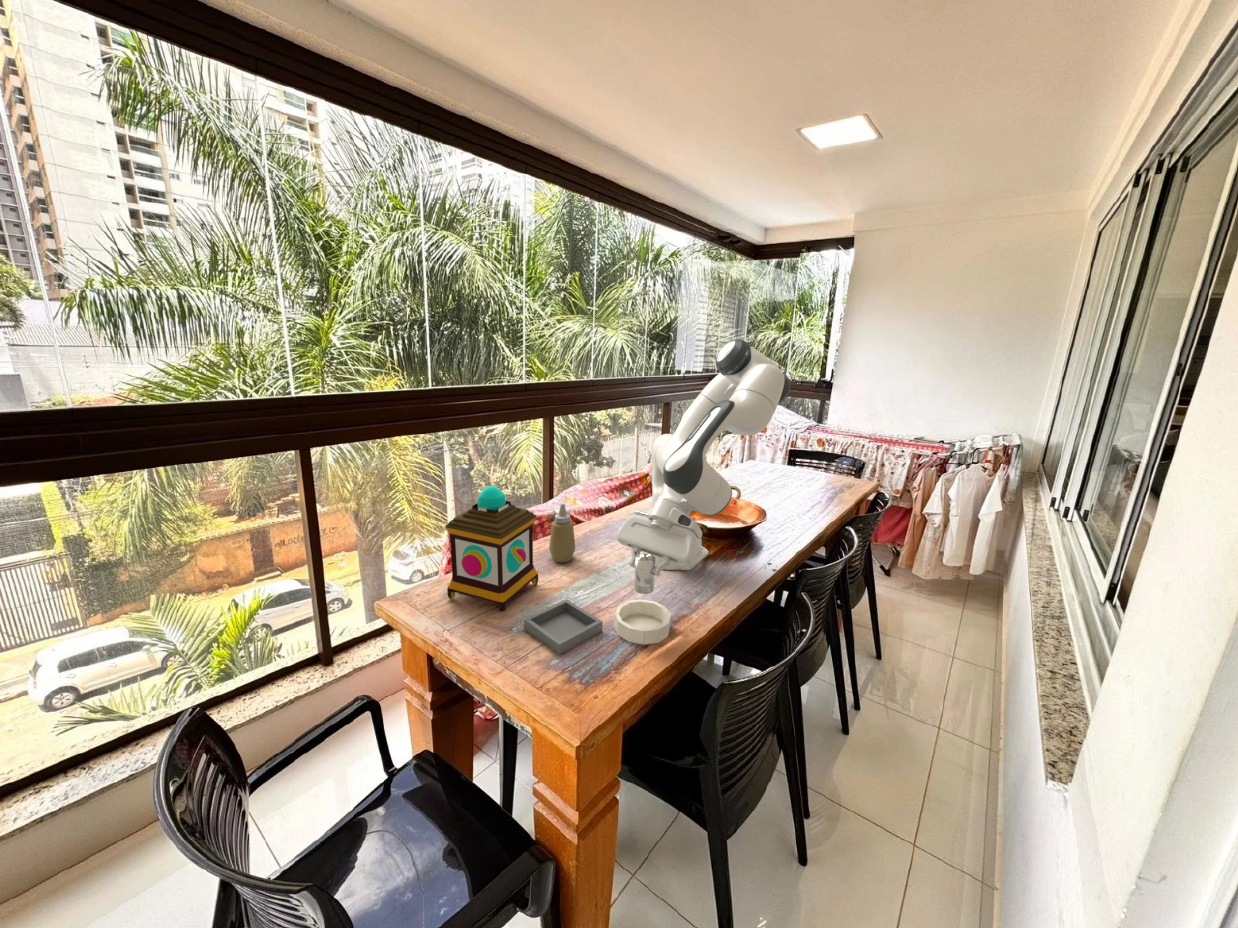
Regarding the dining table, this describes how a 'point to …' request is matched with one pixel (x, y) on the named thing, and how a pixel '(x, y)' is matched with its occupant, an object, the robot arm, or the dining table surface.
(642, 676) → the dining table surface
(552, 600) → the dining table surface
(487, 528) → the decorative lantern
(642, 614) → the bowl
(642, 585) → the pebble cup
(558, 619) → the tray
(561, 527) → the squeeze bottle
